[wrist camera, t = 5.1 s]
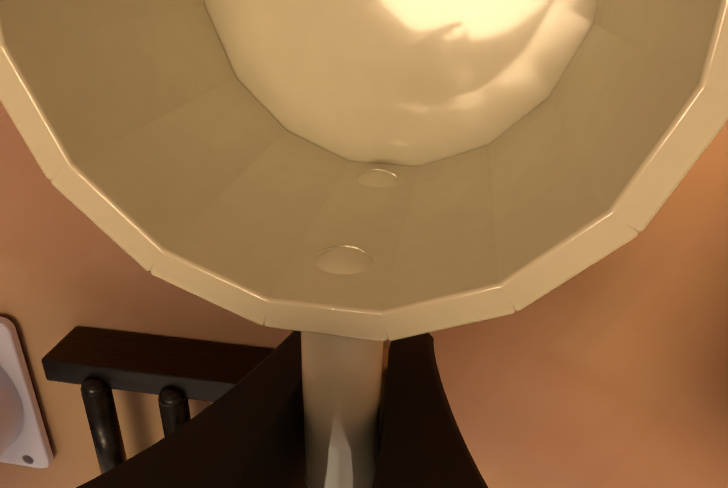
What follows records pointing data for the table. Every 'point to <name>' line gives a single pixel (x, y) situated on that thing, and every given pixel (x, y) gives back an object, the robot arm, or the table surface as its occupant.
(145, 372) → the rack
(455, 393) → the table surface
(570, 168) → the beige mug
